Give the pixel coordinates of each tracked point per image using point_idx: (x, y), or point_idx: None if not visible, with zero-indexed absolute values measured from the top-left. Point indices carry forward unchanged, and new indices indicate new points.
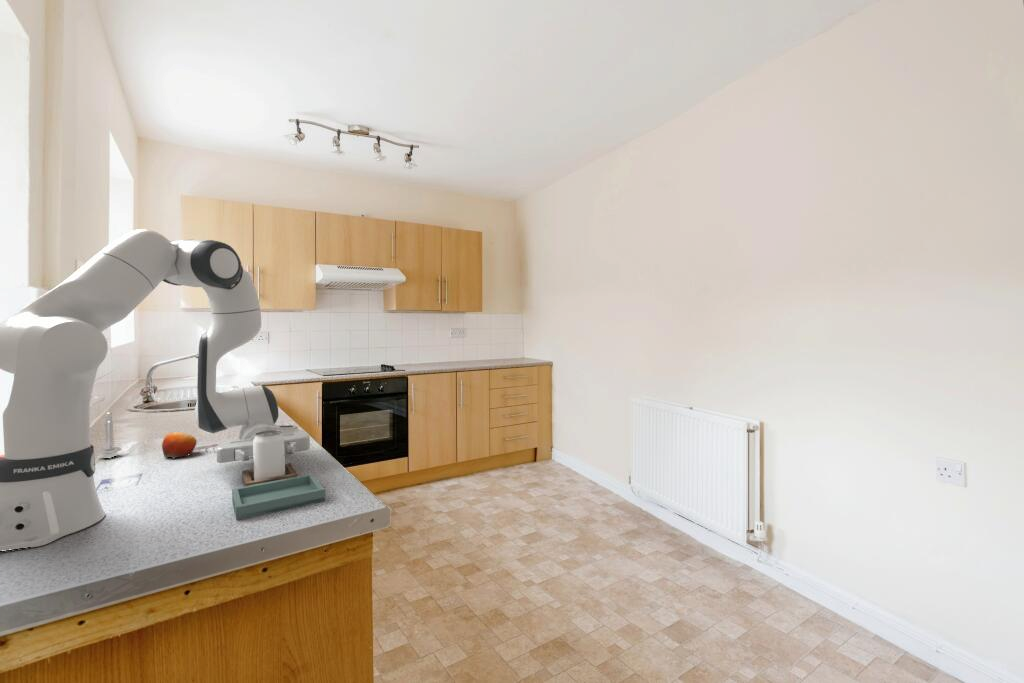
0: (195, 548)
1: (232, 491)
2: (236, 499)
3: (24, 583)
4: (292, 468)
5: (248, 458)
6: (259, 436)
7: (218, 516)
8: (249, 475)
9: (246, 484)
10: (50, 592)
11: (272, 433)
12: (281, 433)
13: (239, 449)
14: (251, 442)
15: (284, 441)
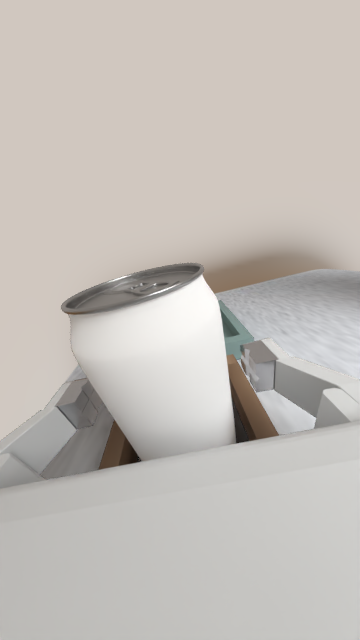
0: (239, 292)
1: (245, 328)
2: (227, 310)
3: (341, 272)
4: (113, 434)
5: (243, 358)
6: (182, 268)
7: (248, 320)
8: (247, 413)
9: (233, 356)
10: (304, 272)
11: (119, 292)
12: (90, 297)
13: (357, 408)
14: (341, 563)
15: (6, 487)
